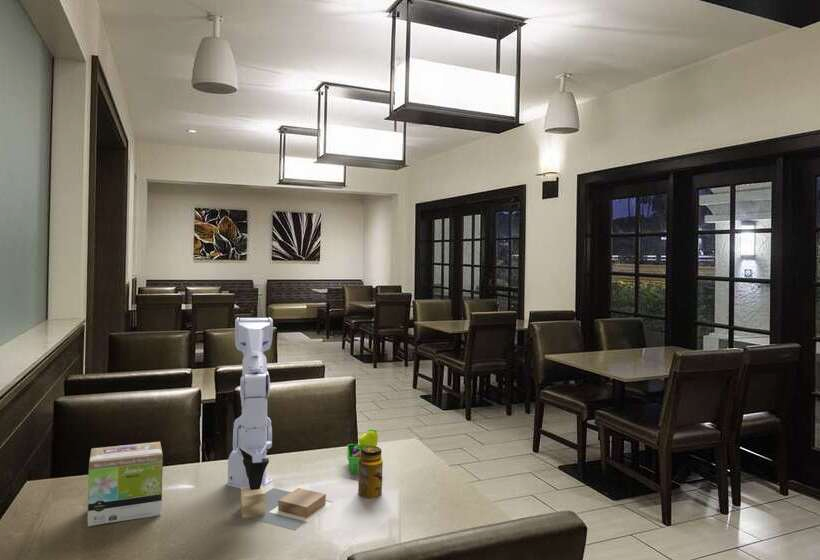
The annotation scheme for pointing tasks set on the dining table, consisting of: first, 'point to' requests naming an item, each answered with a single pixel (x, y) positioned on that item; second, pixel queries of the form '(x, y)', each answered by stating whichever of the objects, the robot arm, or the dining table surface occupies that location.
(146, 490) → the tea box
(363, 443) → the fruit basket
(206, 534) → the dining table surface
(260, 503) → the maple cube
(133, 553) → the dining table surface
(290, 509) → the walnut base
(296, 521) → the mat
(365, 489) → the condiment
